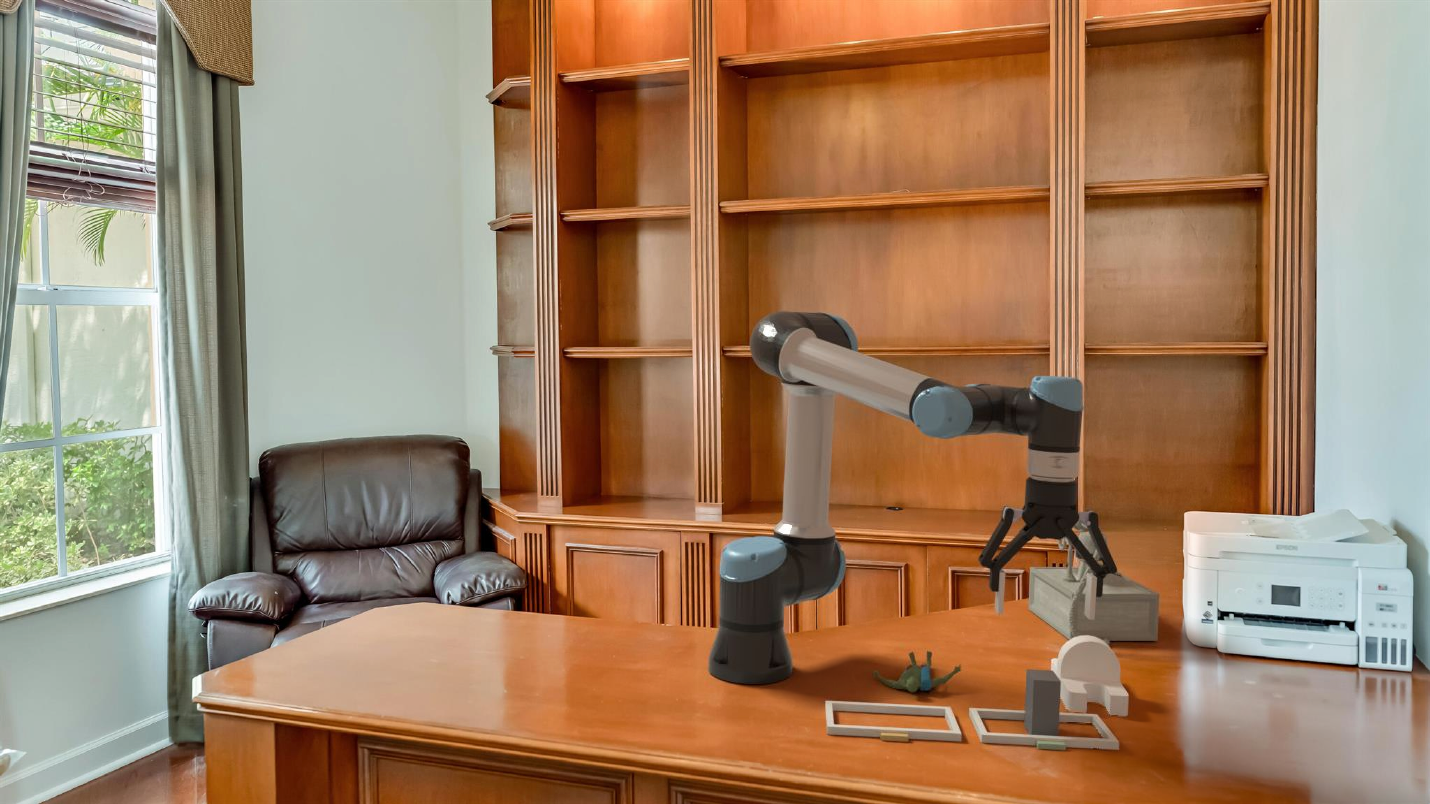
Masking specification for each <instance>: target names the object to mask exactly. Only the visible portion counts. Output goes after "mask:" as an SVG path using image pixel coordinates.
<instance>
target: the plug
mask: <svg viewBox="0 0 1430 804" xmlns="http://www.w3.org/2000/svg"><path fill="white" fill-rule="evenodd" d="M1025 670H1026V675H1025V676H1026V677H1025V699H1024V711H1025V718H1024V720H1023V726H1024V728H1025V729H1026V731H1027V733H1028V735H1045V736H1059V734H1060V733H1059V731H1060V729H1059V728H1060V722H1059V712H1060V713H1061V711H1060V708H1061V704H1060V703H1061V698H1060V690H1061V681H1060V680H1059V678H1058V677H1057V676H1056V674H1055V673H1054V672H1053V671H1052V670H1051V669H1050V670H1048V669H1032V668H1031V669H1025Z"/></svg>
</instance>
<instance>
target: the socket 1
mask: <svg viewBox="0 0 1430 804" xmlns="http://www.w3.org/2000/svg"><path fill="white" fill-rule="evenodd" d="M824 702H825V704H824V705H825V707H824V709H825V719H826V720H825V723H826V735H835V736H848V737H849V736H851V737H852V736H853V737H854V736H855V737H870V738H871V737H873V738H880V740H881V741H887V742H888V741H889V742H909V739H910V740H925V741H928V740H929V741H945V742H947V741H948V742H962V732H961V729H960V727H959V725H958V723H957V722H958V721H957V719H956V718H955V715H954V712H953V710H952V707H951V706H941V705H940V706H937V705H920V704H918V705H917V704H903V703H902V704H900V703H899V704H897V703H882V702H881V703H880V702H861V701H844V700H843V701H838V700H837V701H836V700H825V701H824ZM834 711H836V712H837V711H838V712H856V713H877V714H892V715H893V714H896V715H911V716H912V715H914V716H915V715H917V716H934V717H944V718H945V721H946V723H947V726H948V728H949V729H948V730H947V729H946V730H945V729H928V728H927V729H926V728H911V727H907V728H906V727H889V726H888V727H887V726H870V725H869V726H867V725H855V724H854V725H850V724H835V722H834V721H835V720H834Z"/></svg>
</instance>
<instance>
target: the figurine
mask: <svg viewBox="0 0 1430 804" xmlns="http://www.w3.org/2000/svg"><path fill="white" fill-rule="evenodd" d="M914 653H915V652H914V651H911V652H909V654H908V656H909V659H910V662H911V663H910V664H908V665H906V666H905V670H904V671H903V672H902V674H901V675H900V678H899V679H898V680H894V679H887V678H885V677H883V676H880V675H879V672H878V670H877V669H875V670H874V669H872V676H874V677H875V678H877V679H879V680H880V682H882V684H884V685H885V686H887V687H890V688H892V689H896V690H906V691H907V690H908V691H909V692H910V693H916V692H917V690H918V689H919V690H920V691H929V690H932V688H935V687H938V686H941V685H943V684H944V685H945V684H946V683H947V682H949V680H950V679H952V677H953V676H954V675H956V674H958V673H959V672H961V671H962V665H961V663H959V665H958V666H957V665H955V666H954V668H953V670H952V671H951V672H950V673H948V674H946V675H944V676H942V677H941V676H940V677H935V678H931V666H932V657H933V652H932V651H929V650H927V651H926V663H922V664H920V665H918V664H917V661H916V657H915V654H914Z"/></svg>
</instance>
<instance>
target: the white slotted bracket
mask: <svg viewBox="0 0 1430 804" xmlns="http://www.w3.org/2000/svg"><path fill="white" fill-rule="evenodd" d="M1057 656H1058V657H1057V658H1056V657H1055V658H1051V663H1050V670H1052V671H1053V672H1054V673H1055V674H1056V676H1057V677H1058V678H1059V680H1060V681H1061V690H1060V697H1061V698H1060V700H1061V699H1062V700H1061V702H1062V701H1063V702H1062V704H1063V703H1064V704H1063V706H1064V705H1065V706H1064V708H1065V707H1066V708H1065V710H1066V709H1068V710H1070V711H1079V712H1087V711H1088V710H1087V709H1088V705H1087V704H1088V703H1087V701H1089V702H1098V703H1100V704H1103V705H1104V706H1105V707H1106V708H1105V707H1104V706H1103V705H1102V706H1103V707H1104V708H1105V710H1106V709H1107V710H1106V711H1108V712H1109V713H1108V712H1107V713H1108V715H1109V714H1110V715H1109V716H1111V715H1118V716H1117V717H1127V716H1128V713H1129V712H1128V711H1129V696H1130V695H1129V693H1128V692H1127V690H1126V688H1125V687H1124V686H1123V684H1122V683H1121V664H1120V661H1119V658H1118V656H1117V655H1116V654H1115V652H1114V651H1113V650H1112V648H1111V647H1110V644H1109V645H1108V644H1107V643H1105V642H1104V641H1103V640H1101V639H1099V638H1097V637H1094V636H1089V635H1083V636H1078V637H1074V638H1072V639H1071V640H1069V639H1068V640H1067V641H1066V642H1065V643H1064V644H1063V645H1062V646H1061V648H1060V650H1059V652H1058V655H1057ZM1100 704H1099V705H1100ZM1070 711H1069V712H1070Z"/></svg>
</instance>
